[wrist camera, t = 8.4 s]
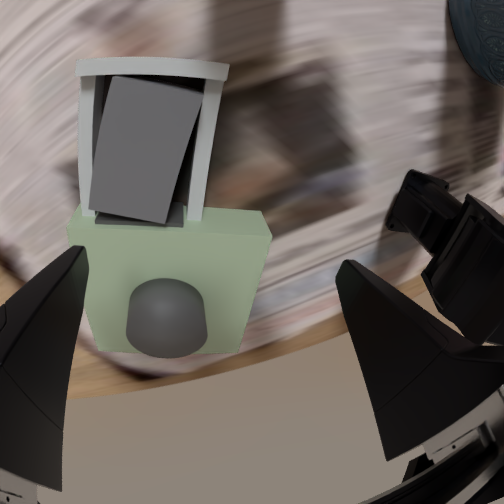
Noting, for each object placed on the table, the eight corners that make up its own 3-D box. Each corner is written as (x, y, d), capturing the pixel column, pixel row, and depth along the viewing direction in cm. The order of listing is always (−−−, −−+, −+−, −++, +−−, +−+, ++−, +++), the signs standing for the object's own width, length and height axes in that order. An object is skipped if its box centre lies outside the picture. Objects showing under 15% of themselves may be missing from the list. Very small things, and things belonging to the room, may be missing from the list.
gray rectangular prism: (200, 89, 16) (204, 96, 13) (167, 195, 20) (164, 224, 17) (127, 73, 14) (112, 76, 11) (103, 182, 18) (88, 209, 15)
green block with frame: (294, 78, 16) (340, 89, 11) (232, 325, 30) (243, 378, 25) (82, 60, 12) (36, 64, 7) (102, 323, 26) (95, 376, 21)
